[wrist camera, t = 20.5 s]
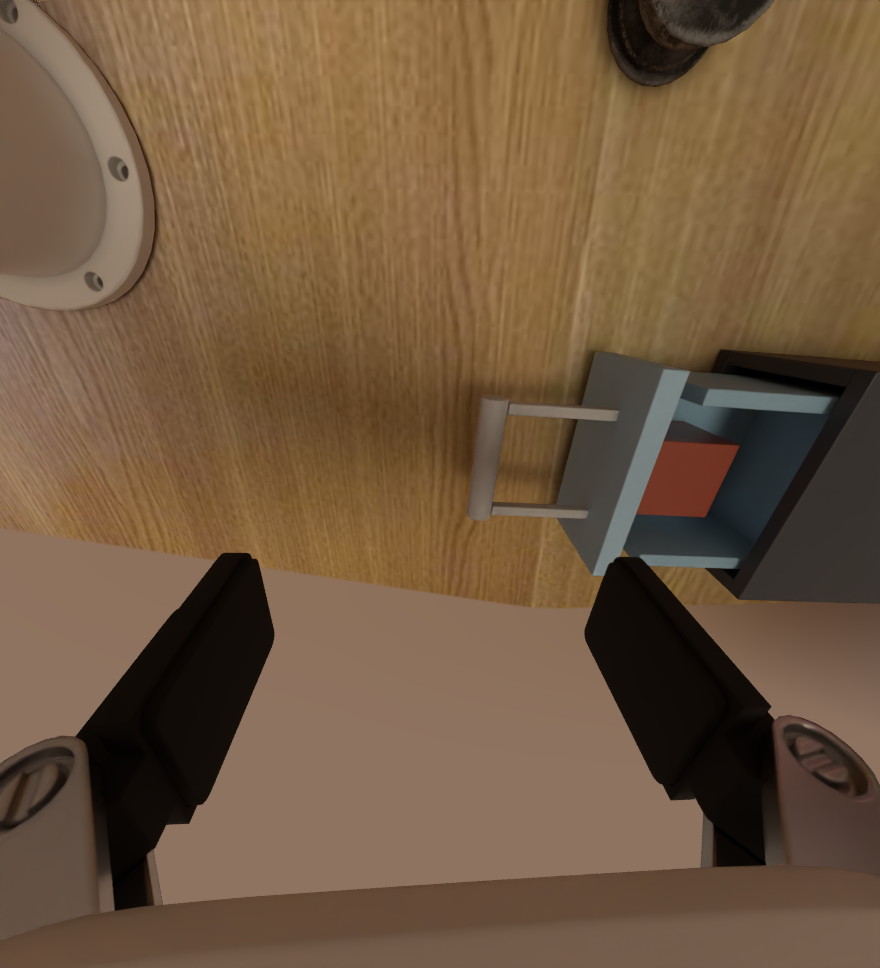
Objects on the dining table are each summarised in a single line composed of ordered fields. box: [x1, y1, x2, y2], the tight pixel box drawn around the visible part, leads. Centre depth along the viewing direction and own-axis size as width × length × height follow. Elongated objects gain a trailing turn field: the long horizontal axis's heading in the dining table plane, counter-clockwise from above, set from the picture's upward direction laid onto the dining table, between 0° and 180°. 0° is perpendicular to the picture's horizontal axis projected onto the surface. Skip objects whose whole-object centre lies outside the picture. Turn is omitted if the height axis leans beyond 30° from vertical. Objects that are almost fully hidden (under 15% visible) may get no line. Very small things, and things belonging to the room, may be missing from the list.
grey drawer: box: [467, 351, 843, 576], centre depth 21 cm, size 19×11×7 cm, turn 86°
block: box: [636, 420, 740, 517], centre depth 21 cm, size 4×4×4 cm
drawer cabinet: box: [705, 350, 880, 604], centre depth 21 cm, size 13×13×9 cm
